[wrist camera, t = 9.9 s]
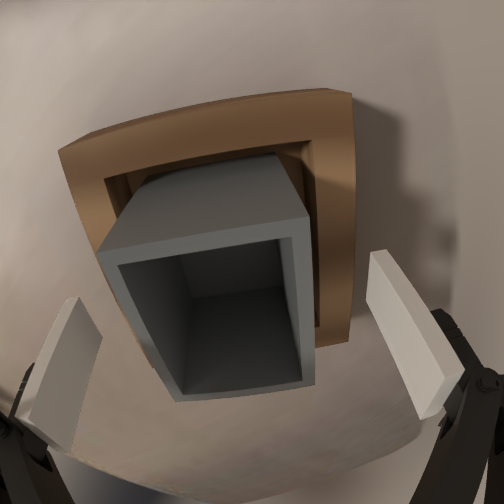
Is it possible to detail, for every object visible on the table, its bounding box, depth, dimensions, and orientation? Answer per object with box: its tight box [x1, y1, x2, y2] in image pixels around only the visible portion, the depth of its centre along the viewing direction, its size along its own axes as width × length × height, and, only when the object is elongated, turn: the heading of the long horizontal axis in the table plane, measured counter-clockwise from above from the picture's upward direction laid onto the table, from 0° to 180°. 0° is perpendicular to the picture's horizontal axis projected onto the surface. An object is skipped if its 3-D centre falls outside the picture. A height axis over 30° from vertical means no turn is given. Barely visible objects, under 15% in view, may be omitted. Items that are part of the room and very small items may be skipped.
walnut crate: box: [58, 88, 356, 368], centre depth 18 cm, size 15×14×4 cm
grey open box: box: [96, 152, 315, 402], centre depth 15 cm, size 9×7×8 cm
